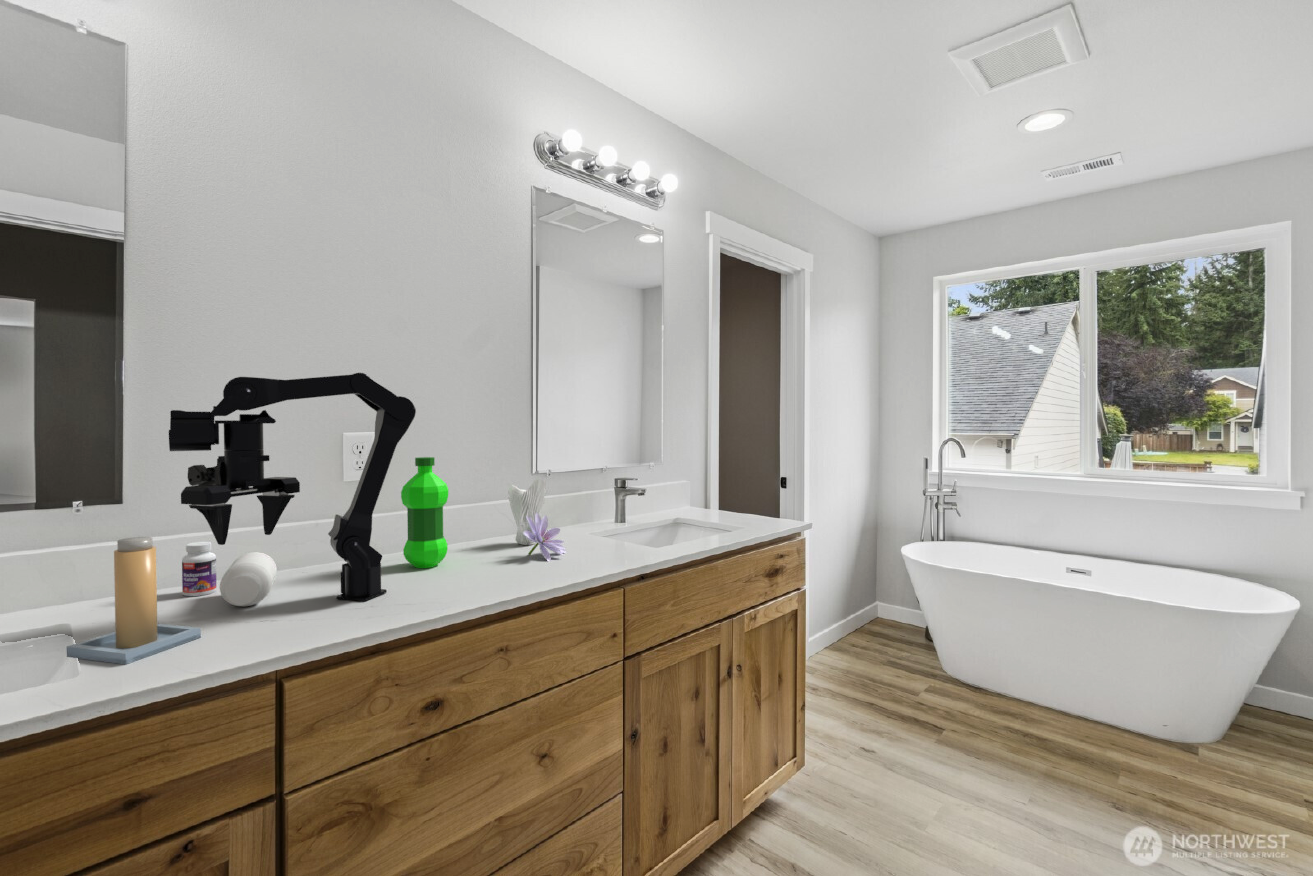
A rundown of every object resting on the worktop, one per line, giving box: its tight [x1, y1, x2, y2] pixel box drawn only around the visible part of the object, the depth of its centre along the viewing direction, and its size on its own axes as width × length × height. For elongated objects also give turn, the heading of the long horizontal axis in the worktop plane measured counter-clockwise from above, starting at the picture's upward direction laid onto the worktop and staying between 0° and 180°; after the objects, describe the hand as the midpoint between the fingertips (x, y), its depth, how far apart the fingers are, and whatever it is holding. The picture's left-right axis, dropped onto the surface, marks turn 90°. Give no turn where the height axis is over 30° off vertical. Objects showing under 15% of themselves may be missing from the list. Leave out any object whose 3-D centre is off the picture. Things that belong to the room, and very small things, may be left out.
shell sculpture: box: [507, 477, 547, 546], centre depth 169 cm, size 8×8×18 cm
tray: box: [66, 622, 202, 665], centre depth 93 cm, size 11×11×2 cm
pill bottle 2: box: [219, 551, 278, 608], centre depth 116 cm, size 8×8×15 cm
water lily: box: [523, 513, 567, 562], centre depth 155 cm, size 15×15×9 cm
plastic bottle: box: [400, 456, 449, 569], centre depth 145 cm, size 10×10×25 cm
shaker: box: [113, 536, 158, 648], centre depth 93 cm, size 5×5×16 cm
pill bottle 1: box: [181, 541, 217, 597], centre depth 122 cm, size 5×5×10 cm
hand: (245, 539), depth 109 cm, fingers open, 9 cm apart
